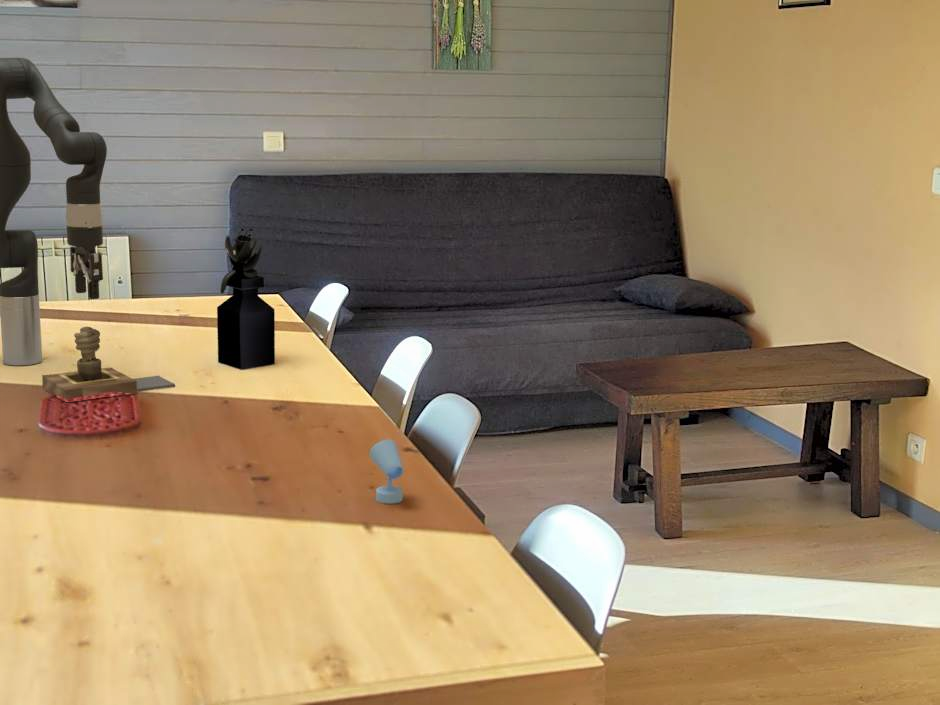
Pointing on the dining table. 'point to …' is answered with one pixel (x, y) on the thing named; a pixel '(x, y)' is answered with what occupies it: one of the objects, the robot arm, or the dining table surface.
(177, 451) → the dining table surface
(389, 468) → the spotlight
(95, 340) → the tan ridged rounded piece
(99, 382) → the socket block
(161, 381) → the mat
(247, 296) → the vase
